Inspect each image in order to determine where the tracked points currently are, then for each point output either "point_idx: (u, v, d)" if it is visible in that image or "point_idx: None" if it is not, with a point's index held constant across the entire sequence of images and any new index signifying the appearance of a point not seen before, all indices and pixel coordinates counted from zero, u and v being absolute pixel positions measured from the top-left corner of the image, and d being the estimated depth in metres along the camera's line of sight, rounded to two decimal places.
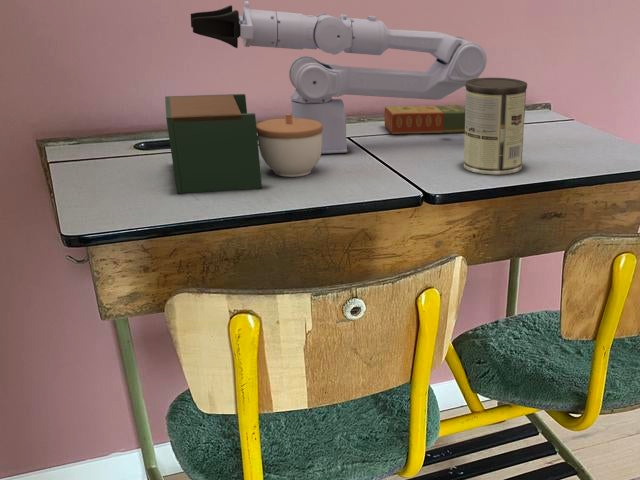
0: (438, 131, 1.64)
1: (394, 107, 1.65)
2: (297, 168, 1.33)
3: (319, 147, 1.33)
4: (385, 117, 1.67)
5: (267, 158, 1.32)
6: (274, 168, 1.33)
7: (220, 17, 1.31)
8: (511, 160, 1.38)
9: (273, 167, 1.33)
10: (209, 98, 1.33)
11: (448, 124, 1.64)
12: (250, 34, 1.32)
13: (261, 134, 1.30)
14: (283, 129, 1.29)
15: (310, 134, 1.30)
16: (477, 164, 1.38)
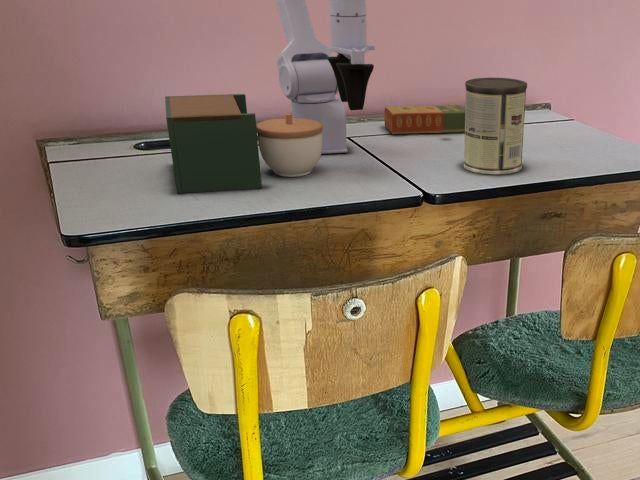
0: (438, 131, 1.64)
1: (394, 107, 1.65)
2: (297, 168, 1.33)
3: (319, 147, 1.33)
4: (385, 117, 1.67)
5: (267, 158, 1.32)
6: (274, 168, 1.33)
7: None
8: (511, 160, 1.38)
9: (273, 167, 1.33)
10: (209, 98, 1.33)
11: (448, 124, 1.64)
12: None
13: (261, 134, 1.30)
14: (283, 129, 1.29)
15: (310, 134, 1.30)
16: (477, 164, 1.38)
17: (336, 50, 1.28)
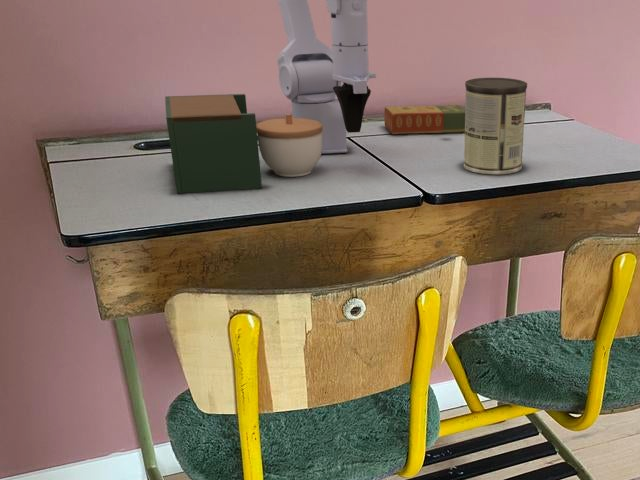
0: (438, 131, 1.64)
1: (394, 107, 1.65)
2: (297, 168, 1.33)
3: (319, 147, 1.33)
4: (385, 117, 1.67)
5: (267, 158, 1.32)
6: (274, 168, 1.33)
7: None
8: (511, 160, 1.38)
9: (273, 167, 1.33)
10: (209, 98, 1.33)
11: (448, 124, 1.64)
12: None
13: (261, 134, 1.30)
14: (283, 129, 1.29)
15: (310, 134, 1.30)
16: (477, 164, 1.38)
17: (338, 79, 1.30)
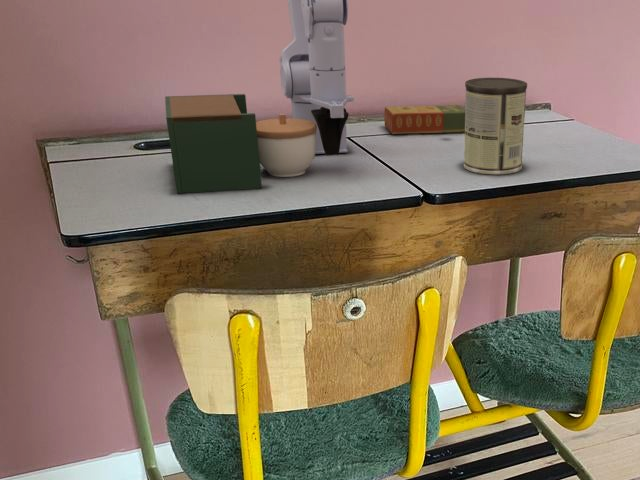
0: (438, 131, 1.64)
1: (394, 107, 1.65)
2: (290, 168, 1.32)
3: (312, 147, 1.33)
4: (385, 117, 1.67)
5: (260, 158, 1.32)
6: (267, 168, 1.33)
7: None
8: (511, 160, 1.38)
9: (266, 167, 1.33)
10: (209, 98, 1.33)
11: (448, 124, 1.64)
12: None
13: None
14: (276, 129, 1.29)
15: (303, 135, 1.30)
16: (477, 164, 1.38)
17: (316, 103, 1.31)
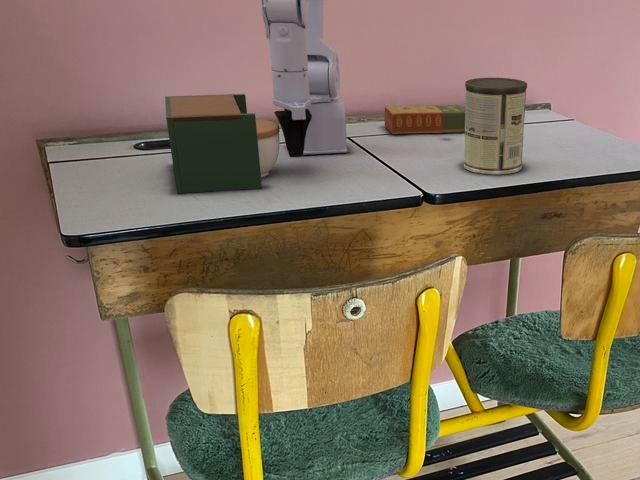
0: (438, 131, 1.64)
1: (394, 107, 1.65)
2: None
3: (273, 149, 1.31)
4: (385, 117, 1.67)
5: None
6: None
7: None
8: (511, 160, 1.38)
9: None
10: (209, 98, 1.33)
11: (448, 124, 1.64)
12: None
13: None
14: None
15: (262, 136, 1.28)
16: (477, 164, 1.38)
17: (278, 104, 1.29)
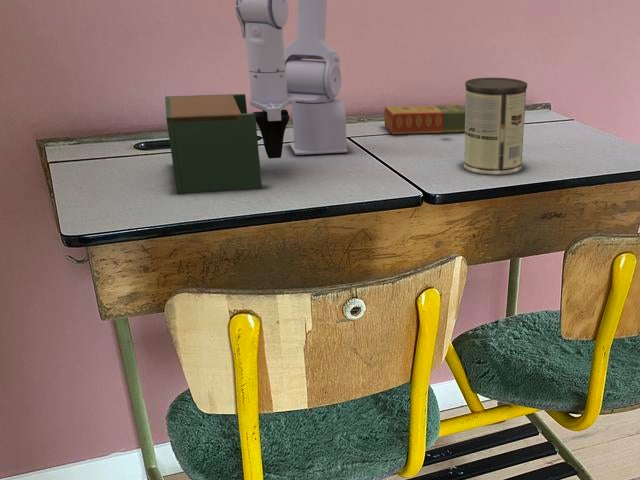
0: (438, 131, 1.64)
1: (394, 107, 1.65)
2: None
3: None
4: (385, 117, 1.67)
5: None
6: None
7: None
8: (511, 160, 1.38)
9: None
10: (209, 98, 1.33)
11: (448, 124, 1.64)
12: None
13: None
14: None
15: None
16: (477, 164, 1.38)
17: (255, 105, 1.28)
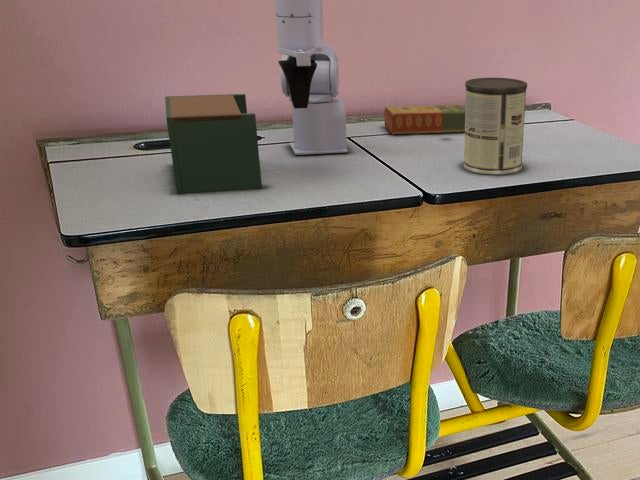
0: (438, 131, 1.64)
1: (394, 107, 1.65)
2: None
3: None
4: (385, 117, 1.67)
5: None
6: None
7: None
8: (511, 160, 1.38)
9: None
10: (209, 98, 1.33)
11: (448, 124, 1.64)
12: None
13: None
14: None
15: None
16: (477, 164, 1.38)
17: (282, 51, 1.25)
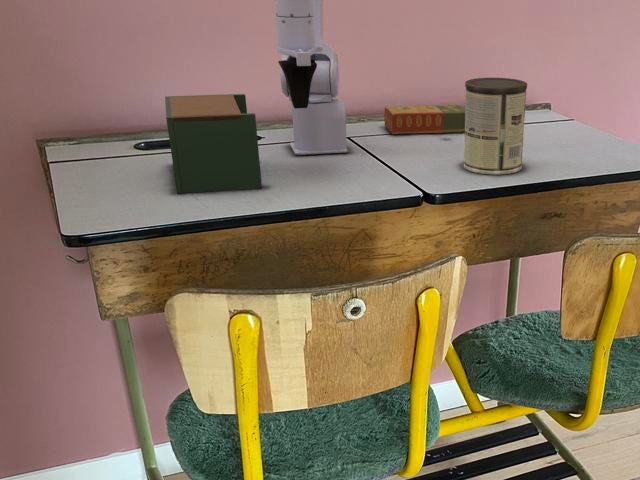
0: (438, 131, 1.64)
1: (394, 107, 1.65)
2: None
3: None
4: (385, 117, 1.67)
5: None
6: None
7: None
8: (511, 160, 1.38)
9: None
10: (209, 98, 1.33)
11: (448, 124, 1.64)
12: None
13: None
14: None
15: None
16: (477, 164, 1.38)
17: (282, 51, 1.25)
